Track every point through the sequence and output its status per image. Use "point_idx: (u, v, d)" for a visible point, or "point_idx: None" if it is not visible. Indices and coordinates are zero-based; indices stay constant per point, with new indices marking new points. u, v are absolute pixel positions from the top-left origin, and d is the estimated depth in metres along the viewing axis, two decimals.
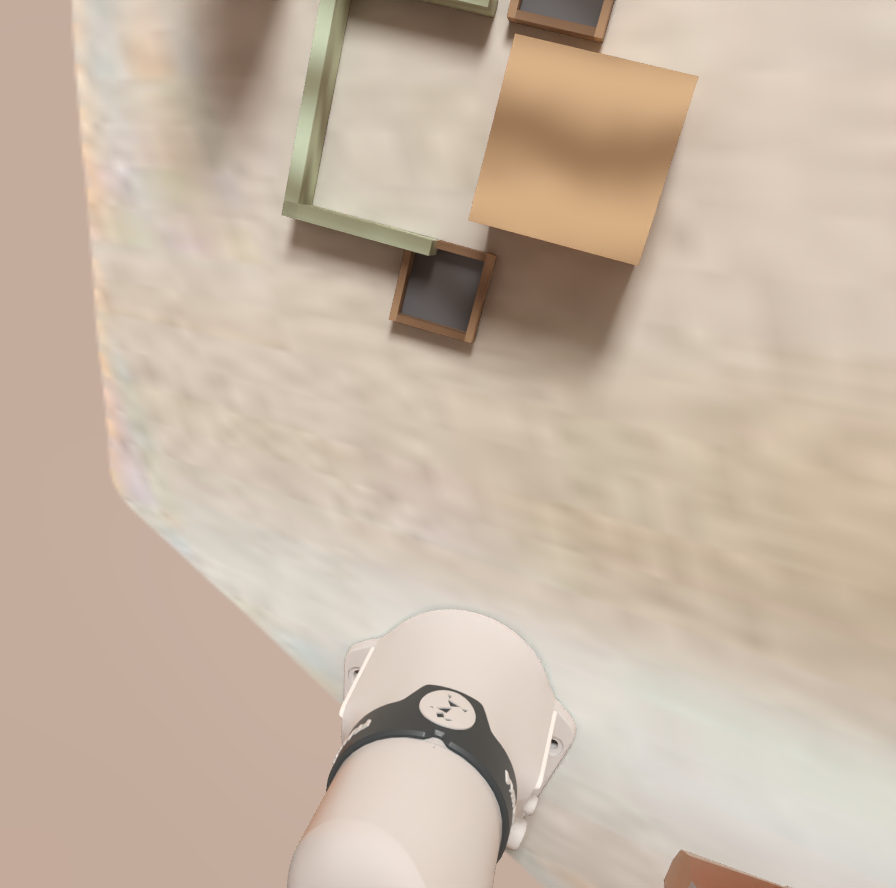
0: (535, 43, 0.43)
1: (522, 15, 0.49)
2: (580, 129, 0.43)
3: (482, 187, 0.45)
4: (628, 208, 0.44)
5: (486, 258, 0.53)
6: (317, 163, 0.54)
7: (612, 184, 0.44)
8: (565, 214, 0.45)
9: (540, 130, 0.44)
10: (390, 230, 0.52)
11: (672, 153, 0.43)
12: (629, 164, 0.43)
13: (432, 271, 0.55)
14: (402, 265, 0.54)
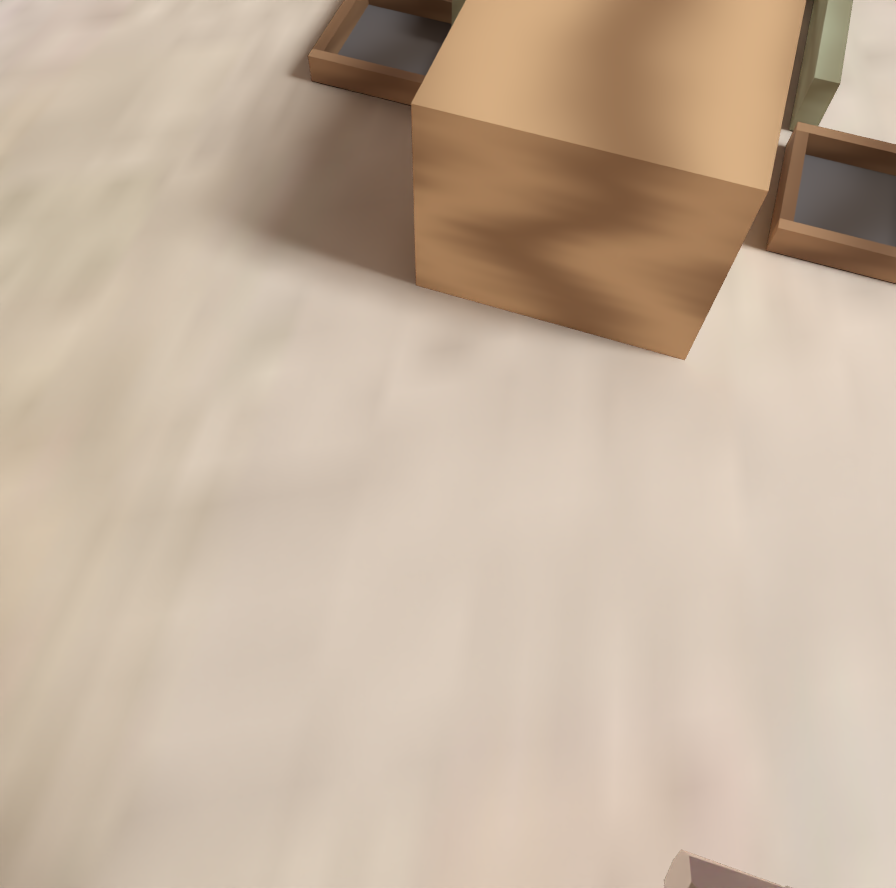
0: None
1: (801, 137, 0.32)
2: (663, 39, 0.24)
3: None
4: (523, 94, 0.23)
5: None
6: None
7: (567, 74, 0.23)
8: (514, 17, 0.24)
9: None
10: None
11: (623, 154, 0.22)
12: (602, 96, 0.23)
13: (426, 40, 0.35)
14: None
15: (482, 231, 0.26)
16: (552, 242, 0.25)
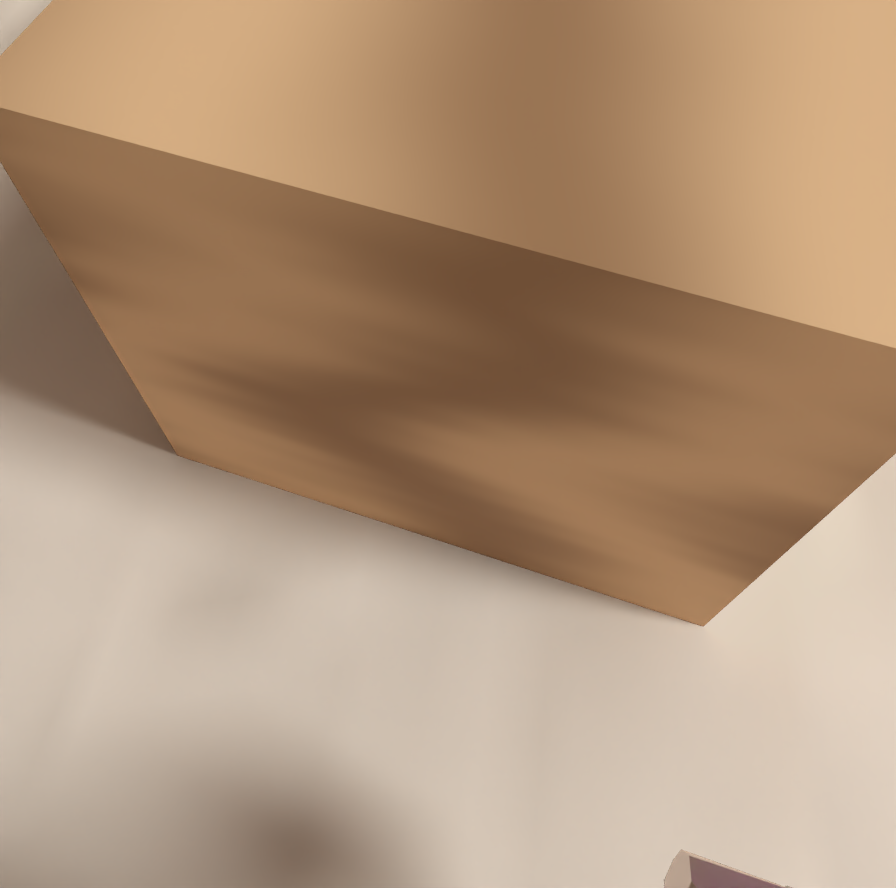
0: None
1: None
2: None
3: None
4: (279, 72, 0.08)
5: None
6: None
7: (406, 23, 0.09)
8: None
9: None
10: None
11: (541, 248, 0.07)
12: (493, 81, 0.08)
13: None
14: None
15: (254, 387, 0.12)
16: (402, 421, 0.11)
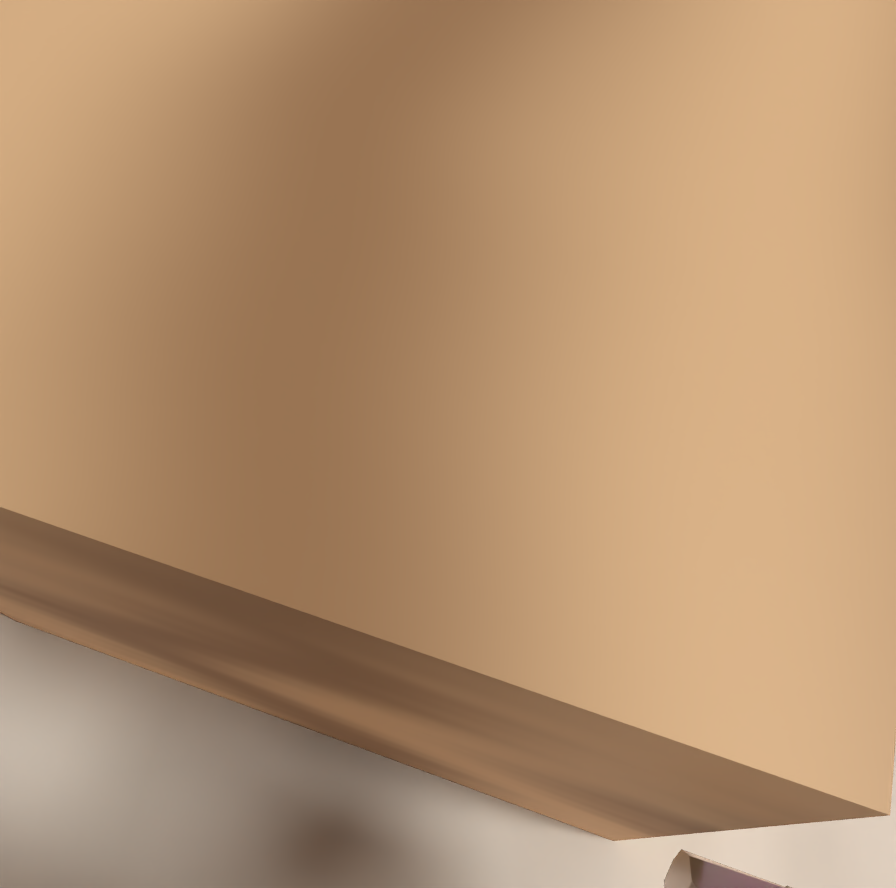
0: None
1: None
2: (508, 79, 0.07)
3: None
4: None
5: None
6: None
7: (149, 209, 0.07)
8: (50, 8, 0.08)
9: None
10: None
11: (268, 588, 0.05)
12: (249, 302, 0.06)
13: None
14: None
15: (41, 601, 0.09)
16: (211, 658, 0.09)
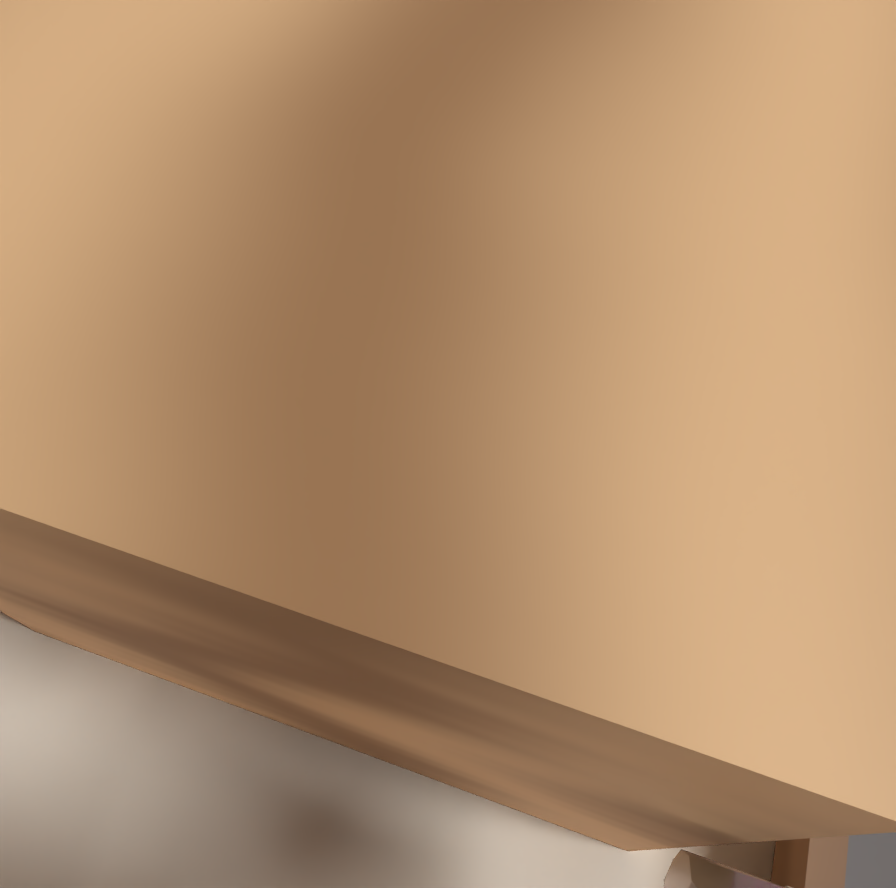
0: None
1: None
2: (537, 107, 0.08)
3: None
4: (6, 316, 0.06)
5: None
6: None
7: (189, 235, 0.07)
8: (88, 34, 0.08)
9: None
10: None
11: (315, 607, 0.05)
12: (290, 326, 0.06)
13: None
14: None
15: (68, 614, 0.10)
16: (238, 672, 0.09)
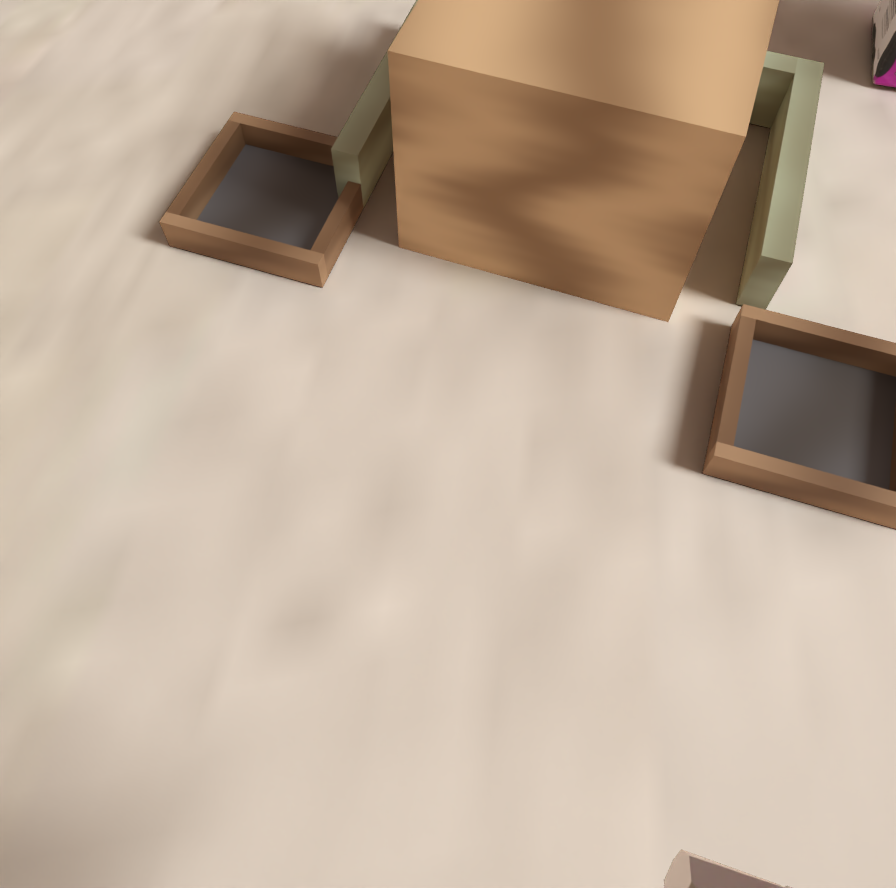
0: None
1: (747, 326, 0.26)
2: None
3: None
4: (500, 42, 0.22)
5: (316, 253, 0.27)
6: None
7: (545, 24, 0.23)
8: None
9: None
10: (384, 102, 0.29)
11: (600, 100, 0.21)
12: (580, 45, 0.22)
13: (310, 190, 0.30)
14: (324, 136, 0.30)
15: (462, 187, 0.26)
16: (532, 198, 0.25)
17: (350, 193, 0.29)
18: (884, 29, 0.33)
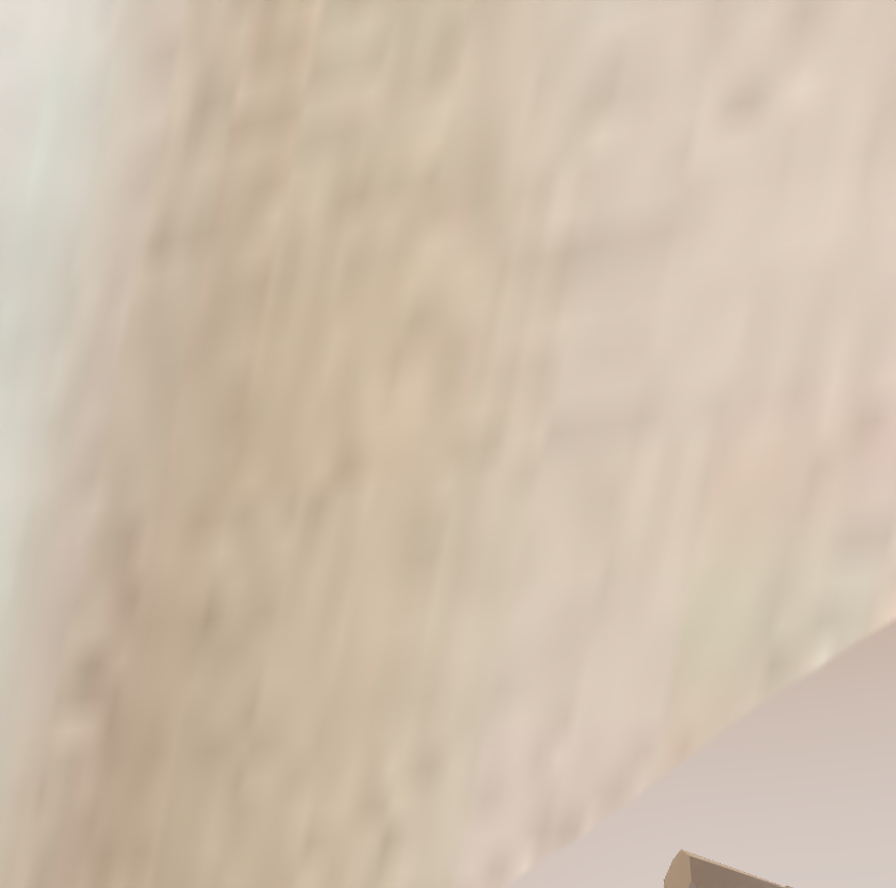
0: None
1: None
2: None
3: None
4: None
5: None
6: None
7: None
8: None
9: None
10: None
11: None
12: None
13: None
14: None
15: None
16: None
17: None
18: None
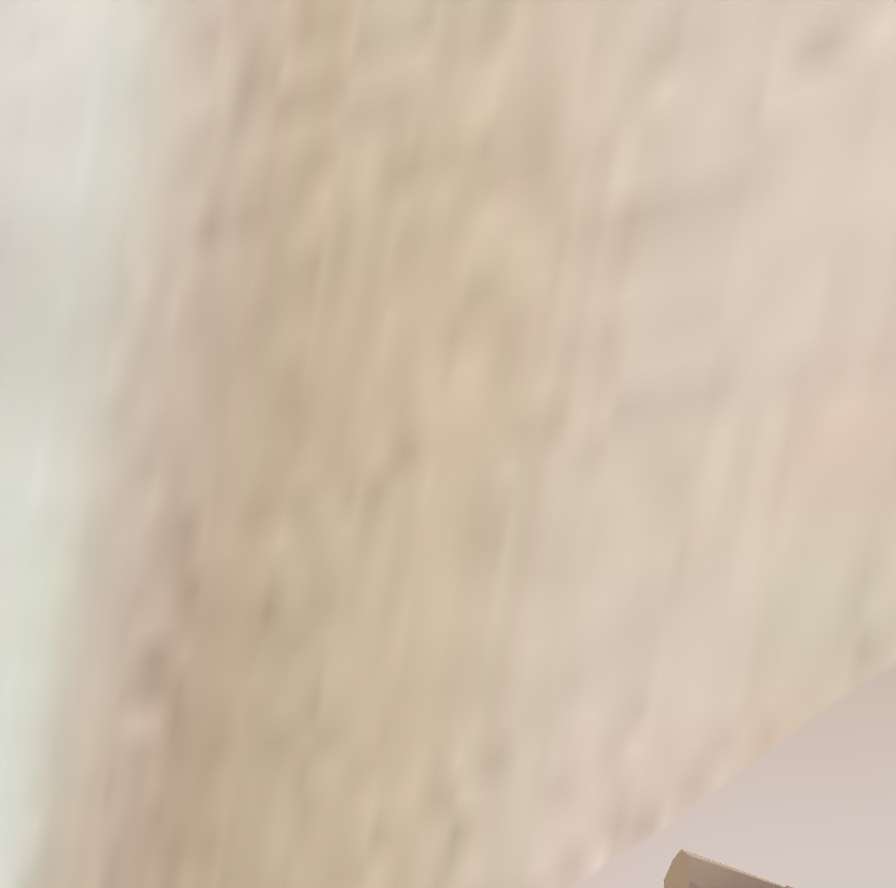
0: None
1: None
2: None
3: None
4: None
5: None
6: None
7: None
8: None
9: None
10: None
11: None
12: None
13: None
14: None
15: None
16: None
17: None
18: None
